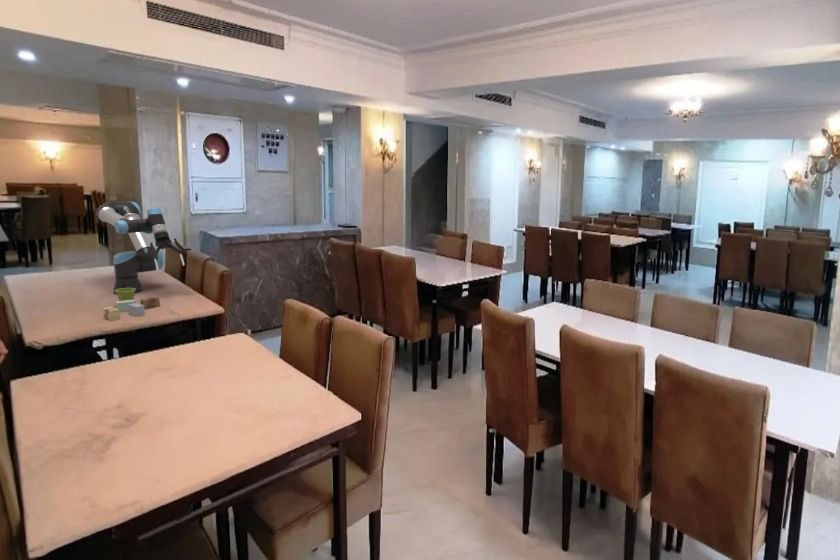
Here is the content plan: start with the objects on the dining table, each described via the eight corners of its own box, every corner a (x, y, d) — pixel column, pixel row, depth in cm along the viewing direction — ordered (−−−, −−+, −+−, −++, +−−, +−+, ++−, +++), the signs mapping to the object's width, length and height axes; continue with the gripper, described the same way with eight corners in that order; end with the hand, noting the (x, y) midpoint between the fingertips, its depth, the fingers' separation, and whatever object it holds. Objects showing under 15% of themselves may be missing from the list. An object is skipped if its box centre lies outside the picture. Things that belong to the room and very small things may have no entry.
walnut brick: (145, 309, 266) (144, 300, 264) (141, 308, 268) (140, 299, 267) (160, 306, 272) (159, 297, 271) (156, 305, 274) (155, 296, 273)
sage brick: (117, 312, 259) (116, 303, 258) (117, 310, 262) (116, 301, 261) (135, 310, 263) (134, 301, 262) (134, 308, 267) (133, 299, 266)
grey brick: (128, 313, 257) (127, 304, 256) (137, 312, 260) (136, 302, 259) (136, 316, 253) (135, 307, 252) (144, 315, 256) (143, 305, 255)
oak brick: (103, 318, 250) (102, 308, 249) (112, 316, 253) (111, 306, 252) (111, 321, 245) (110, 311, 244) (120, 319, 248) (119, 309, 247)
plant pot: (123, 302, 277) (122, 287, 275) (140, 303, 277) (139, 287, 275) (113, 307, 268) (111, 291, 266) (130, 307, 268) (128, 292, 266)
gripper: (136, 235, 281) (147, 270, 278) (184, 227, 294) (194, 260, 292) (136, 239, 287) (146, 274, 285) (183, 231, 300) (193, 264, 298)
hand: (171, 267), depth 288 cm, fingers open, 13 cm apart
